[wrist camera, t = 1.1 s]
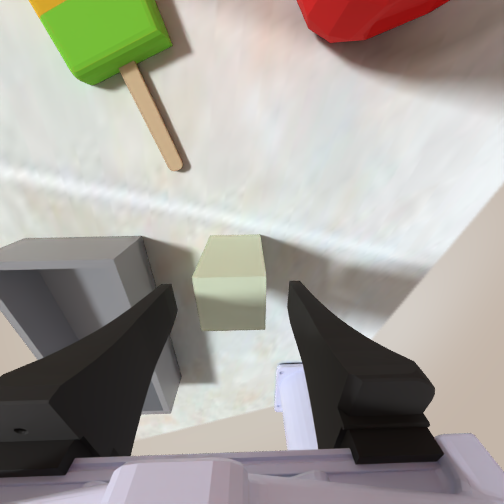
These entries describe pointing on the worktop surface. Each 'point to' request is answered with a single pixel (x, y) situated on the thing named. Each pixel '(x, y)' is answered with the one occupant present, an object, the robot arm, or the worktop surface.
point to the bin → (80, 297)
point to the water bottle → (361, 16)
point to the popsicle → (112, 49)
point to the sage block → (231, 284)
